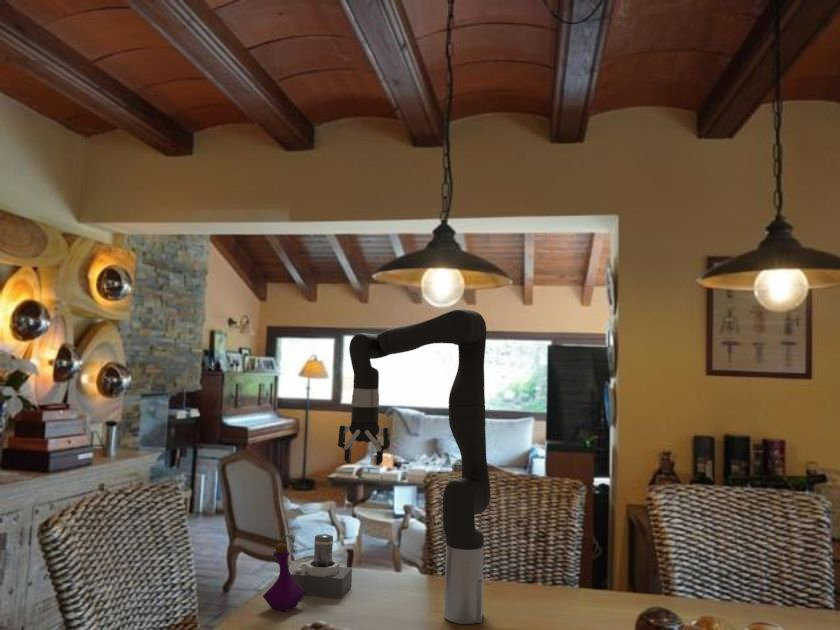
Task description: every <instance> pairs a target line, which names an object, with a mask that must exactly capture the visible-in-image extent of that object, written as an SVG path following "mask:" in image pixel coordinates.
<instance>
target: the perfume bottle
mask: <svg viewBox="0 0 840 630" xmlns="http://www.w3.org/2000/svg"><path fill="white" fill-rule="evenodd" d="M286 538H288V539H289V540H290V541H291V542H292V544H294V543H295V541H296V539H295V538H296V537H295V534H294V533H287V534H285V535H282V536H281V537H280V539H281V540H280V541H281V542H280V543H277V544H276V545H275V546H274V547H275V551H273V554H272V555H273V557H275V558H276V559H277V561H278V565H279V575H278V578H277V579H276V581H275V582H274V583H273V584H272V586H271V587H270V588H269V589H268V590H267V591H266V592H265V593H264V594H263V595H262V597H263V599H264V600H265V602H266V603H267V605H269V607H270V608H271V609H272V610H275V611H279V612H281V613H282V612H283V613H287V612H288V611H290V610H293V609H294V608H296V607H297V606H298V604H299V603H300V601H301V600H302V599H303V597H304V596H306V595H305V591H304V590H303V589H302V588H301V587H300V586H299V585H298V583H297V582H296V581H295V580H294V579H293V577H292V576H291V574H292V573H291V571H290V569H289V566H288V561H287V559H288V556H290V551H289V550H288V545H287V544H286V543H284V542H283V541H284V540H285V539H286Z"/></svg>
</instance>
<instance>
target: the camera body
mask: <svg viewBox="0 0 840 630" xmlns="http://www.w3.org/2000/svg"><path fill="white" fill-rule="evenodd" d="M352 573H353V568H352V567H343V566H340V562H339V561H337V560H336V559H334V558H332V566H329V567H324V568H323V567H314V559H310V560H309V561H307V562H306V563H303V564H301V565H300V566H299V567H298V568H296V569H295V570H294V571H293V572H292V573H290V574H291V576H292V577H293V579H294V580H295V581H296V582H297V583H298V585H299V586H300V587H301V588H302V589H303V590H304V591H305V595H304V596H309V597H320V598H330V599H331V598H332V599H343V598H344V596H345V595H346V594H347V593H348V592H349V591H350V589H351V588H352V579H353V578H352V576H353V575H352Z"/></svg>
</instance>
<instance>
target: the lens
mask: <svg viewBox="0 0 840 630" xmlns="http://www.w3.org/2000/svg"><path fill="white" fill-rule="evenodd" d="M313 541H314V548H313V549H314V551H313V560H314V567H323V568H324V567H329V566H332V559H333V547H334V546H333V545H334V536H333V535H331V534H322V533H321V534H316V535H315V536H314V540H313Z"/></svg>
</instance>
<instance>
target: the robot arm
mask: <svg viewBox="0 0 840 630" xmlns="http://www.w3.org/2000/svg"><path fill="white" fill-rule="evenodd" d="M486 342H487V323H486V321H485V318H484V317H483V315H482V314H481V313H479V312H477V311H475V310H470V309H465V308H455V309H452V310H449V311H446V312H445V313H442V314H440V315H438V316H435V317H433V318H430V319H427V320H424V321H421V322H416V323H412V324H406V325H401V326H396V327H392V328H388V329H386V330H385V329H384V330H383V331H381V333H366V332H363V333H362V332H360V333H359V332H358V333H356V334H354V335H353V336H352V338H351V340H350V342H349V347H348V348H349V350H348V352H349V358H350V362H351V367H352V370H353V385H352V386H353V388H352V389H353V390H352V396H351V415H350V416H351V417H350V418H351V419H350V420H351V421H350V425H345V424H342V425H340V426H339V431H338V432H339V433H338V438H337V439H338V441H337V447H339V448H342V449H343V450H344V455H343V456H344V461H345V463H346V464H351V463H352V449H351V448H352V447H353V445H354V444H355V443H356V442H358V443H362V442H365V443H372V445H373V446H374V448H376V450H377V451H376V456H375V457H376V458H375V459H376V463H375V464H376V466H380V465H381V464H382V463H383V460H384V451H385V450H388V449H390V447H391V438H390V437H391V435H390V427H389V426H384V427H380V426H379V416H380V415H379V411H380V410H379V408H380V405H379V404H380V393H379V384H380V383H379V381H380V379H379V378H380V377H379V376H380V373H379V370H378V369H377V368H375V367H373V366H372V361H371V359H372V360H373V359H375V360H377V359H381V358H384V357H385V358H386V357H387V356H390V355H396V354H401V353H406V352H412V351H414V350H416V349H419V348H421V347H424V346H427V345H431V344H432V345H433V344H434V345H435V344H453V345H454V346H455V345H456V346H457V347H458V349H457V350H458V367H457V372H456V373H455V374H456V375H455V377H454V380H453V383H452V385H451V389H450V392H449V395H448V423H449V428H450V432H451V434H452V437H453V438H454V442H455V443H456V445H457V448H458V450H459V453H460V457H461V478H458V479H457V478H455V479H453V480H451V481H449V482H448V483H447V484H446V486H445V488H444V490H443V493H442V530H443V533H444V535H445V541H446V542H445V571H444V572H445V576H444V604H443V605H444V606H443V608H444V612H443V613H444V615H443V616H444V619H446V620H447V621H449V622H450V623H455V624H460V625H461V624H462V625H471V624H481V623H482V620H483V615H484V587H485V583H484V582H485V581H484V580H485V579H484V578H485V576H484V551H485V550H484V549H485V548H484V547H485V545H484V544H485V541H484V540H485V539H484V538H485V537H484V533H482V531H480V530H478V529H476V527H475V524H476V523H475V522H476V521H475V516H476V515H478V514H479V515H480V514H481V513H484V512H485V511H486V510H487V509H488V508H489V505H490V501H491V485H490V477H489V468H488V461H487V460H488V458H487V437H486V436H487V435H486V398H485V354H486V346H487V345H486ZM348 432H350V433H351V437H350V438H349V440H348V441H347V442H346V434H347V433H348ZM379 432H380V433H381V436H383V444H382V443H381V441H380V439H379V438H378V436H377V435H378V434H379Z"/></svg>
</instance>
